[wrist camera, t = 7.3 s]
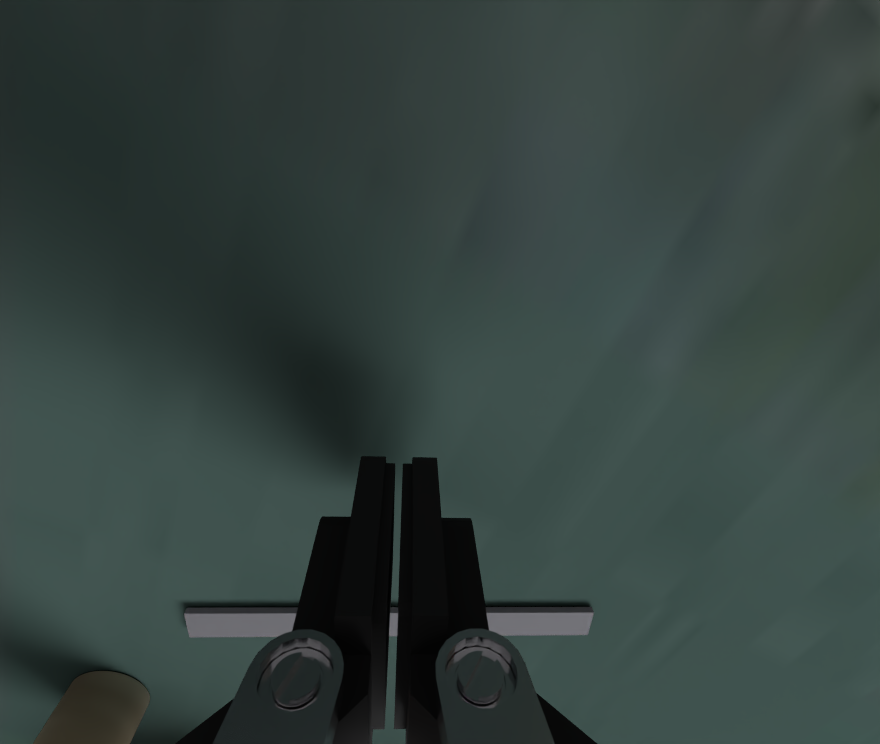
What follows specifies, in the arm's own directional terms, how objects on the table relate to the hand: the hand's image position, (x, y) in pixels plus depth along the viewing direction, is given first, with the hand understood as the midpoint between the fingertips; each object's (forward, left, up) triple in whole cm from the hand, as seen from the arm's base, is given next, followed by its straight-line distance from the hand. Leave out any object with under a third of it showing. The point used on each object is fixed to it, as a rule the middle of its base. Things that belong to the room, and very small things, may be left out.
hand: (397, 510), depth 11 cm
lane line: (0, +6, -2) cm, 6 cm away
